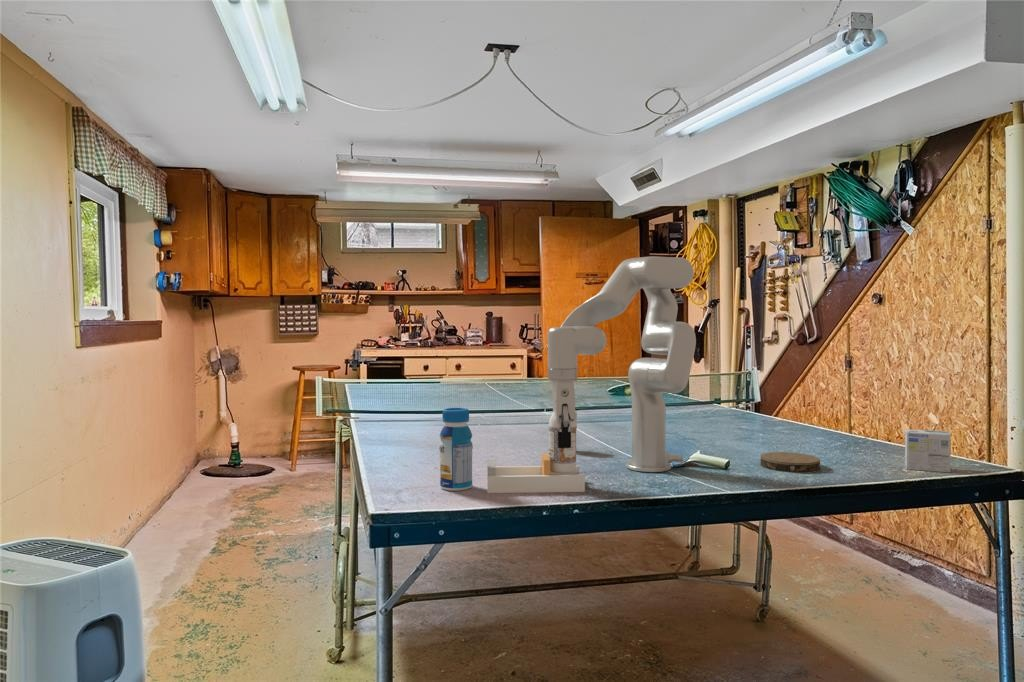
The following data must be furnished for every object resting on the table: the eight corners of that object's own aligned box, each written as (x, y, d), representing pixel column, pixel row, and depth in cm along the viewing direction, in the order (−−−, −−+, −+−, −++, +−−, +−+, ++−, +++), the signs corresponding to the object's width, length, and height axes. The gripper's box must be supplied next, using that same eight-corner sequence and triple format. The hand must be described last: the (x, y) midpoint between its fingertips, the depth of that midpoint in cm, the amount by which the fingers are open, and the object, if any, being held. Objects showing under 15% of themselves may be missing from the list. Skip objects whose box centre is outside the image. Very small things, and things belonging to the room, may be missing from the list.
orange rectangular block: (547, 476, 173) (547, 453, 173) (550, 484, 165) (550, 460, 164) (541, 477, 173) (541, 453, 173) (544, 485, 165) (543, 460, 164)
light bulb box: (947, 468, 188) (947, 430, 187) (951, 473, 182) (951, 434, 181) (903, 465, 192) (904, 428, 192) (906, 469, 186) (906, 431, 186)
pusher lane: (578, 480, 175) (578, 457, 175) (584, 491, 163) (584, 467, 163) (487, 481, 175) (487, 458, 174) (487, 493, 163) (487, 468, 162)
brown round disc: (756, 460, 200) (756, 451, 200) (812, 463, 197) (812, 453, 197) (765, 472, 185) (765, 461, 185) (826, 474, 182) (826, 464, 181)
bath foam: (560, 475, 164) (559, 394, 164) (543, 470, 170) (543, 392, 169) (581, 471, 168) (581, 393, 167) (564, 466, 174) (564, 390, 173)
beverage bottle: (468, 492, 163) (467, 411, 163) (435, 490, 165) (434, 411, 164) (476, 484, 172) (475, 407, 171) (444, 482, 173) (444, 406, 173)
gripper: (581, 378, 160) (582, 451, 160) (572, 372, 177) (573, 438, 178) (550, 378, 160) (551, 451, 160) (545, 373, 177) (545, 439, 177)
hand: (562, 444), depth 169 cm, fingers closed on bath foam, 7 cm apart
